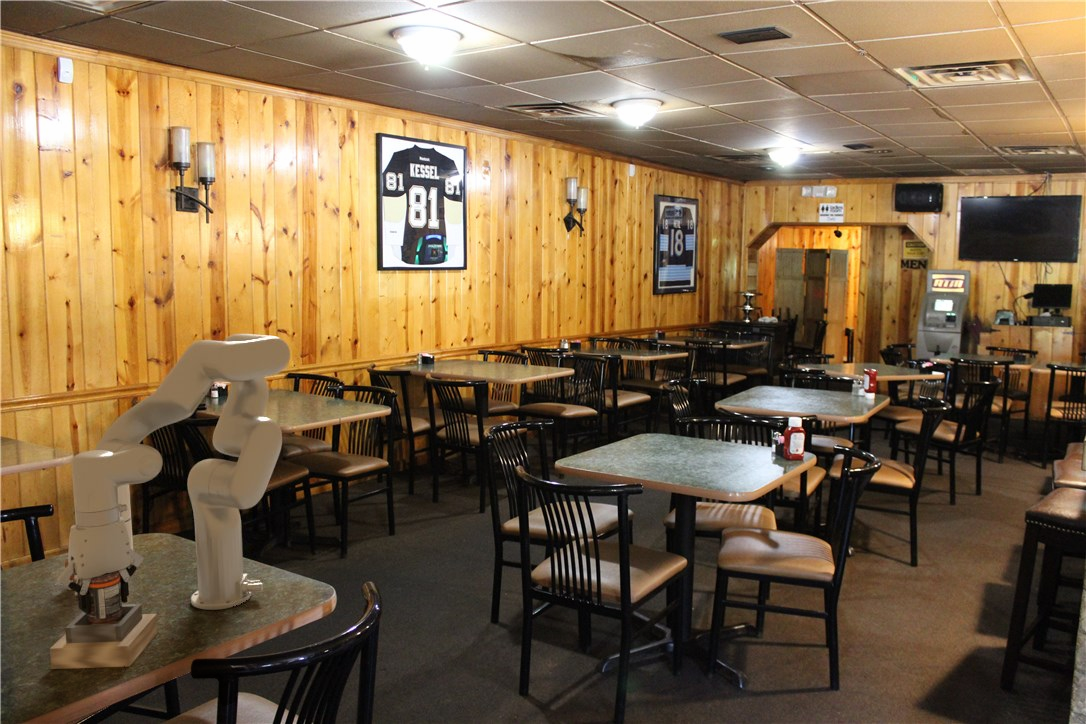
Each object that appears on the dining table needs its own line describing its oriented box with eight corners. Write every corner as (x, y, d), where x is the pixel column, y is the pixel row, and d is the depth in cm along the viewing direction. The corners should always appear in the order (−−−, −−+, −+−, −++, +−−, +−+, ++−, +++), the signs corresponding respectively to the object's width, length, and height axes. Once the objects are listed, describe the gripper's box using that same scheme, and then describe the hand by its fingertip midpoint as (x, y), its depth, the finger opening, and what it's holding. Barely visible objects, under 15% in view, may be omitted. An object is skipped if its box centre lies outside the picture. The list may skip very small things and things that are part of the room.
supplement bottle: (83, 618, 163) (78, 562, 161) (115, 609, 167) (111, 554, 165) (94, 628, 159) (90, 570, 157) (127, 618, 163) (123, 562, 161)
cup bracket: (157, 632, 171) (155, 599, 170) (129, 666, 157) (127, 630, 156) (86, 634, 170) (83, 601, 169) (51, 669, 156) (48, 633, 155)
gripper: (135, 501, 169) (140, 587, 171) (40, 523, 156) (48, 615, 158) (152, 509, 164) (158, 597, 166) (56, 532, 151) (64, 627, 153)
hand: (104, 605), depth 162 cm, fingers closed on supplement bottle, 6 cm apart
